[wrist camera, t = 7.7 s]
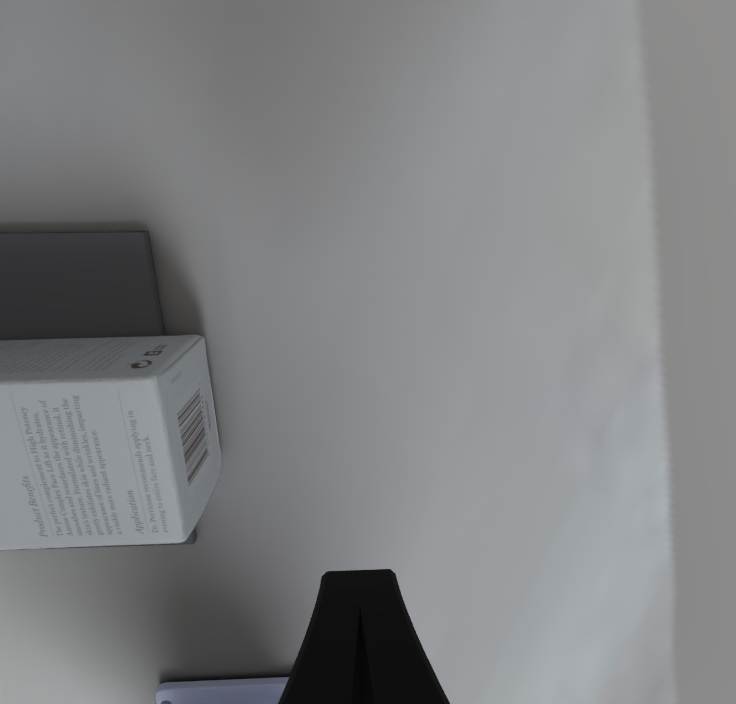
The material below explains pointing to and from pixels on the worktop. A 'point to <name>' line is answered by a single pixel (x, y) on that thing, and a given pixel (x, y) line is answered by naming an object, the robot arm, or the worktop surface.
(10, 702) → the worktop surface
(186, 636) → the worktop surface
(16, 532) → the skincare box
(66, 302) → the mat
